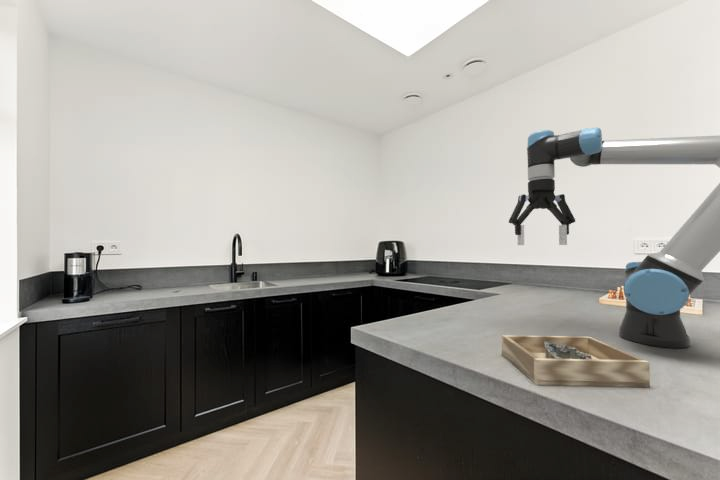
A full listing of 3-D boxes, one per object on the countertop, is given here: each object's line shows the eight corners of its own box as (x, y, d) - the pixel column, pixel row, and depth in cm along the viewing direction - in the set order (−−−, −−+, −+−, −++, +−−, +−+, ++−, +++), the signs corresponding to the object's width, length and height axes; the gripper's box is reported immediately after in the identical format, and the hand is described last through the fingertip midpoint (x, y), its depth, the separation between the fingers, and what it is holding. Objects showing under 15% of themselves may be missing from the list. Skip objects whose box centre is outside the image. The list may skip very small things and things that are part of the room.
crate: (589, 356, 78) (589, 336, 78) (649, 387, 61) (649, 362, 61) (501, 354, 79) (501, 335, 79) (536, 384, 62) (536, 360, 62)
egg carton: (594, 376, 63) (594, 357, 63) (552, 371, 66) (552, 352, 66) (578, 358, 73) (578, 341, 73) (542, 354, 76) (542, 338, 76)
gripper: (571, 182, 103) (572, 245, 102) (497, 182, 103) (498, 245, 103) (587, 177, 95) (589, 244, 95) (508, 177, 96) (508, 245, 95)
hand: (541, 245), depth 99 cm, fingers open, 13 cm apart
